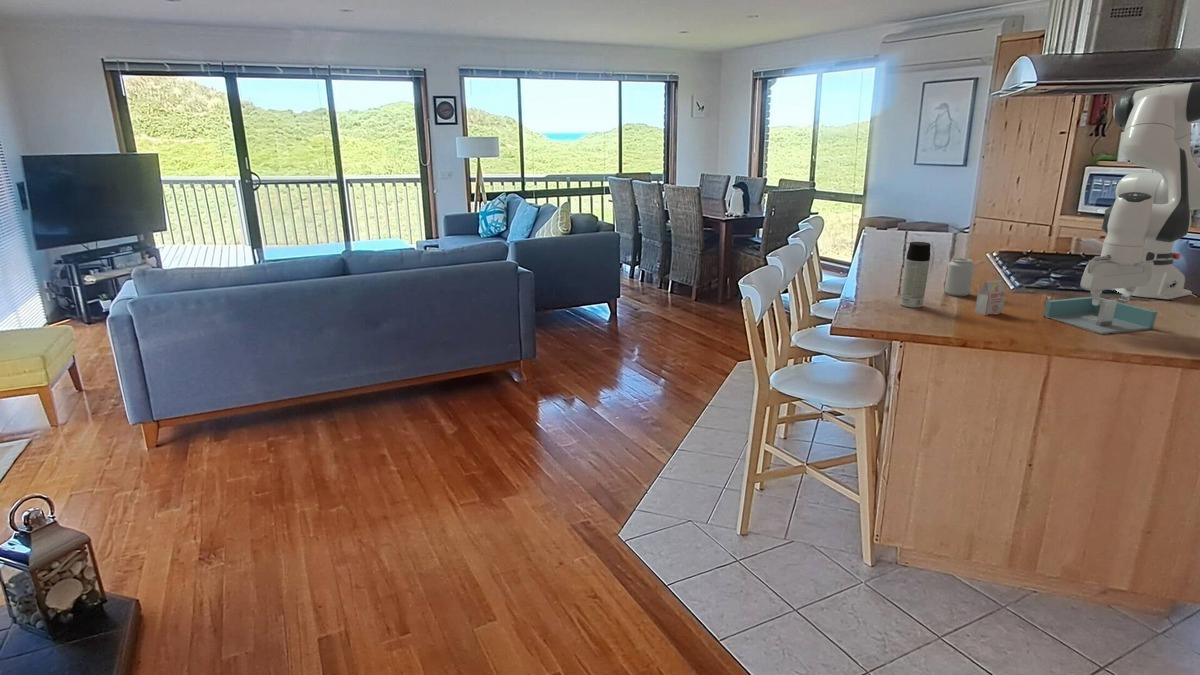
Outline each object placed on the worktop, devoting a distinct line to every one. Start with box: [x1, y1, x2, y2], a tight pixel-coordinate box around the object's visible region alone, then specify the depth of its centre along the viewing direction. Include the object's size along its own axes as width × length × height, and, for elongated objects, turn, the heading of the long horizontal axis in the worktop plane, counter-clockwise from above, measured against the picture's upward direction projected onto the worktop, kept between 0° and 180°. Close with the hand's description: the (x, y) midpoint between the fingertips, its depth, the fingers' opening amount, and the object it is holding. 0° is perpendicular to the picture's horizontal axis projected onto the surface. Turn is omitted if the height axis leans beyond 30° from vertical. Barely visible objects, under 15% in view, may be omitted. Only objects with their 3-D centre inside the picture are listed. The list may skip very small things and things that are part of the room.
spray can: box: [899, 241, 932, 309], centre depth 204 cm, size 7×7×20 cm
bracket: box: [1080, 299, 1118, 326], centre depth 184 cm, size 6×4×7 cm, turn 14°
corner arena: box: [1043, 296, 1158, 335], centre depth 186 cm, size 18×18×5 cm
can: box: [944, 257, 975, 297], centre depth 218 cm, size 8×8×12 cm
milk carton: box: [974, 279, 1006, 315], centre depth 196 cm, size 4×7×10 cm, turn 109°
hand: (1110, 303), depth 180 cm, fingers open, 8 cm apart
